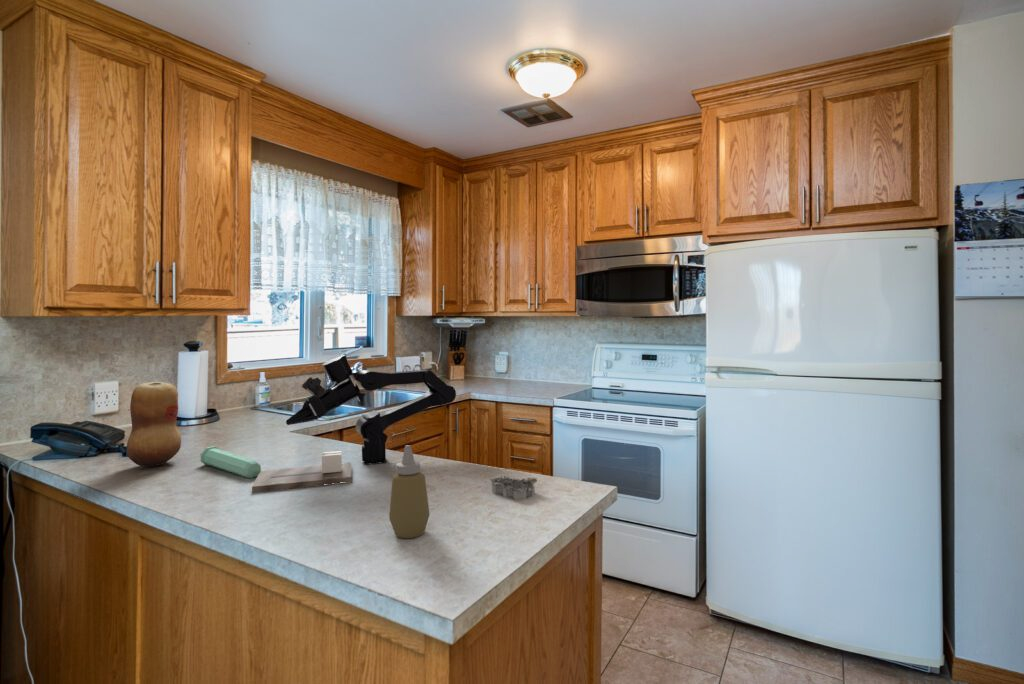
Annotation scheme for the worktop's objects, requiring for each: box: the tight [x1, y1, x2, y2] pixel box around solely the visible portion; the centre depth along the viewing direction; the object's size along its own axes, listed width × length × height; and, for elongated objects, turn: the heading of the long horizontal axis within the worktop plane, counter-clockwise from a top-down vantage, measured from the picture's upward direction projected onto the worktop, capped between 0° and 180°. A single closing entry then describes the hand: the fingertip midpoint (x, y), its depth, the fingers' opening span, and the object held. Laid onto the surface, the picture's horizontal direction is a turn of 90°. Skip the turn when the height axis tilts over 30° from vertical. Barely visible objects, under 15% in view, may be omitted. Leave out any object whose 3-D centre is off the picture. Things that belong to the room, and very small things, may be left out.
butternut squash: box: [126, 381, 182, 467], centre depth 158 cm, size 14×13×25 cm
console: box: [251, 462, 352, 493], centre depth 143 cm, size 24×14×2 cm, turn 107°
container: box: [199, 445, 262, 479], centre depth 152 cm, size 6×6×25 cm
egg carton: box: [489, 475, 538, 501], centre depth 130 cm, size 11×8×4 cm
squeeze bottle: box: [388, 444, 430, 539], centre depth 106 cm, size 8×8×18 cm
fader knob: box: [321, 450, 343, 473], centre depth 145 cm, size 5×4×5 cm
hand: (286, 423), depth 147 cm, fingers open, 9 cm apart
